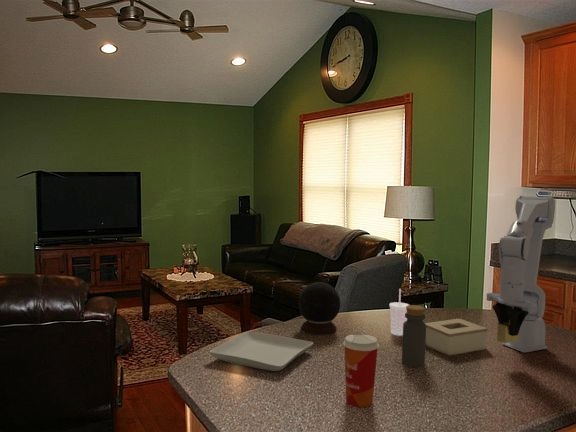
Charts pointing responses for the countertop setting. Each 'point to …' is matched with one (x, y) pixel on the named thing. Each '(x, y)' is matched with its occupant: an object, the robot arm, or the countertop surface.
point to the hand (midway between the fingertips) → (509, 333)
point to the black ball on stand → (319, 308)
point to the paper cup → (360, 369)
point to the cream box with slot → (455, 336)
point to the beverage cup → (398, 316)
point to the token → (505, 333)
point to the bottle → (414, 337)
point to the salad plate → (261, 350)
